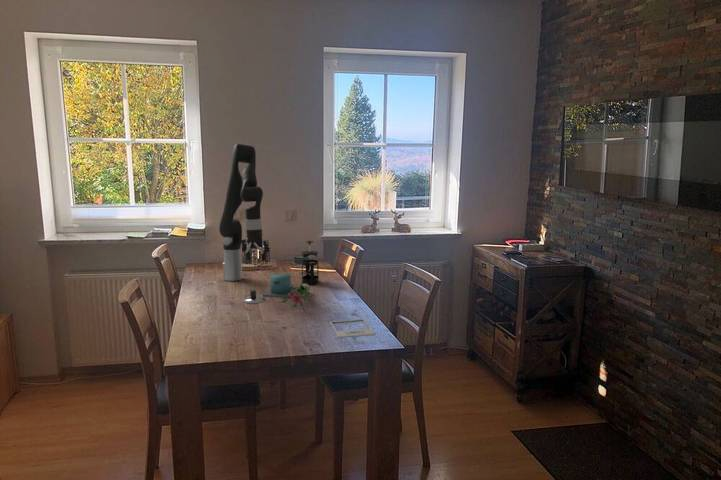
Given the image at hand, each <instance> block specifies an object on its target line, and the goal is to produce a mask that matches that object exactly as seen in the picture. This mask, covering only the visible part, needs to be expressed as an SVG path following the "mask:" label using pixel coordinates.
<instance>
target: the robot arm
mask: <svg viewBox="0 0 721 480" xmlns="http://www.w3.org/2000/svg"><path fill="white" fill-rule="evenodd" d="M256 155H257V154H256V148H255V146H254V145H253V146H252V145H248V144H242V143H236V144H235V145H234V146H233V149H232V157H231V158H232V160H231V165H230V166H231V167H230V174H229V180H228V184H227V190H226V197H225V201H224V205H223V206H224V207H223V212H222V215H221V218H220V222H219V226H218V227H219V231H218V232H219V234H220V236H222V238H228V239H227V241H225V242H224V243H223V244H222V245H223V247H222V248H223V262H222V275H223V281H228V282H236V281H240V280H242V279H243V272H242V271H243V270H242V267H243V266H242V253H241V252H244V253H245V258H246V260H247V261H251V259H252V258H251V251H252V250H254V249H255V250H258V251H259V252H260V254H261V255H260V256H261V258H260V259H261V262H266V260H267V253H270V248H269V247H270V246H269V240H268V239H265V240H263V226H262V225H263V224H262V223H263V222H262V216H261V205H262V201H263V200H262V199H263V196H264V192H263V189H262V188H261V187H260V186H258V179H257V175H256V172H257V171H256V168H257V163H256V162H257V161H256V160H257V157H256ZM239 163H243V164H247V165H246V167H245V168H244V169H243V170H242V173H241V172H240V169H239ZM243 202H244V203H252V202H253V203H254V202H255V203H254V205H251V206H247V207H246V208H245V230H246V238H247V239H246V238H245V239H243V226H242V223H241V221H240V220H238V219H237V218H236V219H235V218H234V217H235V214H236V212H237V210H238V209H239V208H240V206H241V205H242V203H243Z"/></svg>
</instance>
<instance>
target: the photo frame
mask: <svg viewBox="0 0 721 480" xmlns="http://www.w3.org/2000/svg"><path fill="white" fill-rule="evenodd" d="M357 321H358V322H359V321H360V322H361V321H363V323H364V324H365V326H366V328H367V329H356V330H342V331H341V330H340V331H338V330H337V329H336V327H335V325H334V323H344V322H346V323H347V322H357ZM329 324H330V326H331V327H332V329H333V331H334V334H335V335H336V337H337V338H338V339H340V338H349V337H362V336H363V337H365V336H373V335H374V336H375V332H374V331H373V330H372V328H371V327H370V325H369V324H368V322H367V321H366V320H365V319H364V318H363V319H361V318H360V319H350V320H348V319H347V320H337V321H336V320H334V321H330V322H329Z"/></svg>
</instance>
